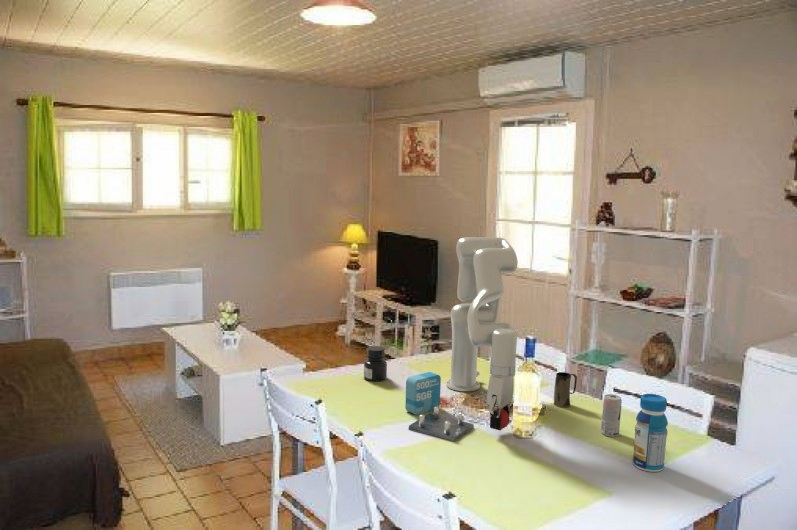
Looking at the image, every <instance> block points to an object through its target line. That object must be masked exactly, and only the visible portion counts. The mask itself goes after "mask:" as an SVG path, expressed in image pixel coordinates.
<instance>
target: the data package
mask: <svg viewBox="0 0 797 530" xmlns="http://www.w3.org/2000/svg"><path fill="white" fill-rule="evenodd" d="M441 380H442V379H441V375H440V374H437V373H434V372H431V371H428V372H427V371H426V372H424V373H418V374H415V375H410V376H408V377H407V379H406V381H405V404H404V405H405V406H404V407H405V411H407V412H409V413H410V414H413V415H421V414H424V413H428V412H430V411H434V406H438V407H439V408H440V405H441V386H442V385H441V384H442V383H441Z"/></svg>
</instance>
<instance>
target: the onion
mask: <svg viewBox="0 0 797 530" xmlns="http://www.w3.org/2000/svg"><path fill="white" fill-rule="evenodd" d="M494 409H495V408H494ZM495 411H496V412H498V409H495ZM500 417H501V423H500V430H499V431H502V430H504V429H505V428H506V427H507V426H509V423H510V420H511V419H510V414H509V415H508V413H507V412H506V411H505V410H504V409H503V408H501V412H500Z"/></svg>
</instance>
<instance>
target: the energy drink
mask: <svg viewBox="0 0 797 530" xmlns="http://www.w3.org/2000/svg"><path fill="white" fill-rule="evenodd" d="M622 401H623V400H622V396H619V395H616V394H612V393H610V394H605V395H604V397H603V401H602V404H603V405H602V416H601V428H600V431H601V434H602V435H603V436H606V437H610V438H616V437H618V436H619V435H620V428H621V426H620V425H621V415H622V413H621V412H622V403H623V402H622Z"/></svg>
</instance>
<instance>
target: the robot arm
mask: <svg viewBox="0 0 797 530" xmlns="http://www.w3.org/2000/svg"><path fill="white" fill-rule="evenodd" d="M455 251H456V256H457V260H458V264H459V266H458V267H459V268H458V276H457V277H458V278H457V289H456V293H457V295H456V296H457V299H458V300H459V301H460V302H463V303H459V304H456V305H454V306H452V308H451V311H450V322H451V335H452V336H451V340H452V341H451V360H450V361H451V363H450V364H451V365H450V367H451V369H450V379H449V380H447V381H446V387H447V388H449V389H450V390H453V391H457V392H475V391H477V390H479V389H480V388H481V383H480V382H479V381H477V377H479V376H480V371H478V351H479V350H478V349H479V348H483V347H485V348H488V347H491V348H490V364H489V373H490V376H489V381H488V386H487V393H486V394H487V395H486V406H487V407H488V409H487V410H488V412H489V417H490V418H489V428H490V429H491V430H492V429H493V430H495V431H496V430H497V431H501V430H500V423H501V417H500V412H501V408H503V409H504V410H505V411H506V412H507V413H508V415H509V416H510V413H511V412H510V410H511V403H512V401H513V398H514V385H515V384H514V377H515V375H516V360H517V343H518V342H517V341H518V334H517V332H516V331H515V327H513V325H512V324H511V323H509V322H498V320H499V314H500V306H501V299H502V298H501V297H502V296H503V294H504V293H505V289H504V281H503V276H502V275H503V274H514V273H515V272H516V270H517V269H518V263H519V262H518V257H517V253H516V251H515V249H514V248H513V246H512V245H511V243H509V241H507V239H505V238H503V237H491V236H490V237H486V236H485V237H484V236H482V237H481V236H468V237H461V238H459V239H458V240H457V243H456V248H455ZM478 347H479V348H478ZM495 409H498V412H496V411H495Z"/></svg>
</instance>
